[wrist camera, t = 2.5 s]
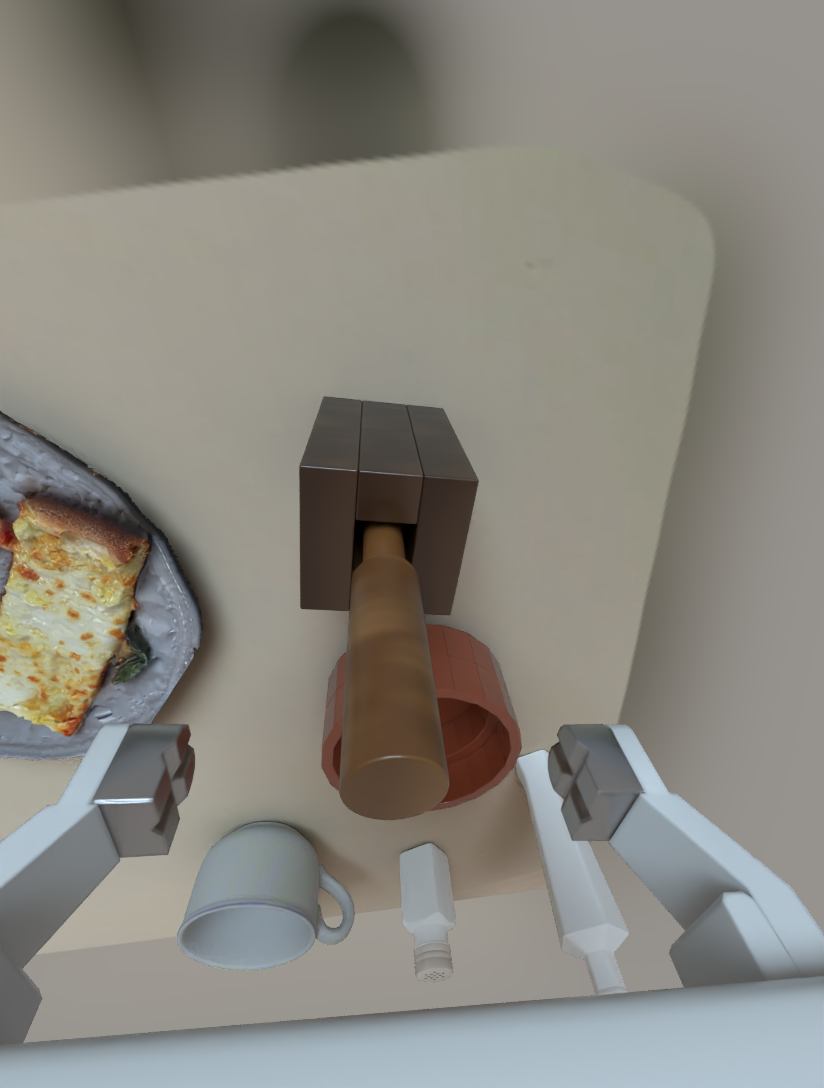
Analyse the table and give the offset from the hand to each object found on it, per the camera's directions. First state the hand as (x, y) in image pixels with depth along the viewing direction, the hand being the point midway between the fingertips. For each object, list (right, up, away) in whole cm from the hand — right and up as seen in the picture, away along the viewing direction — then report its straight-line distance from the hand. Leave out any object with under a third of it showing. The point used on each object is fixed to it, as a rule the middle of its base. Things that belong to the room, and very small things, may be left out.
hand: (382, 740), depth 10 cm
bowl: (+1, -6, +23) cm, 24 cm away
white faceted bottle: (+11, -15, +30) cm, 36 cm away
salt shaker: (+2, -27, +37) cm, 46 cm away
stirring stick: (-1, +9, +14) cm, 17 cm away
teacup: (-12, -24, +34) cm, 43 cm away
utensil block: (-1, +9, +14) cm, 17 cm away
